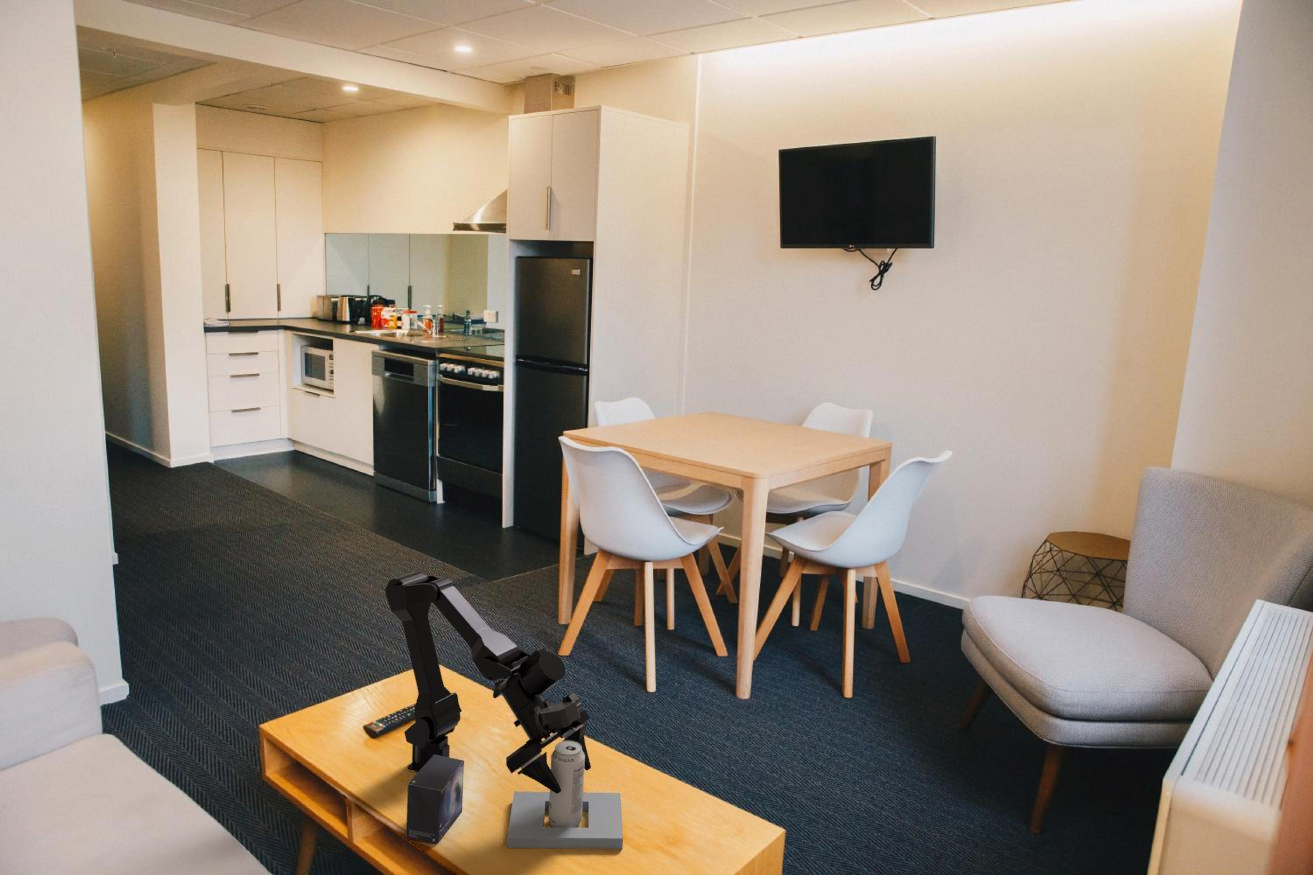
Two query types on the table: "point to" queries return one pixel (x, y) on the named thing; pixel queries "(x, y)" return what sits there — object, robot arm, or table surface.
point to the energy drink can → (567, 785)
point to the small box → (434, 799)
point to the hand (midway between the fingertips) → (574, 780)
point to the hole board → (533, 834)
